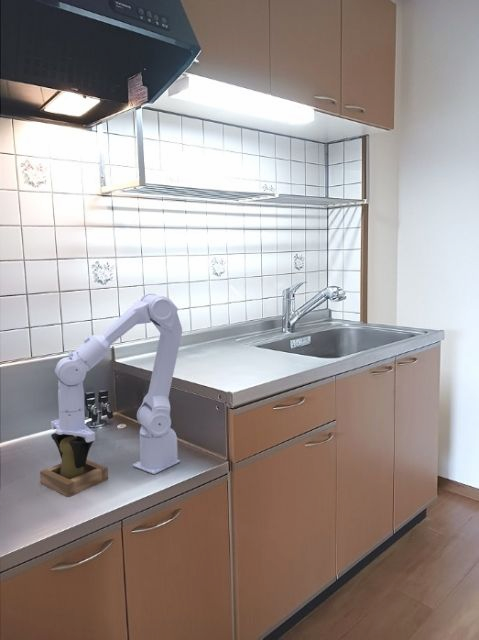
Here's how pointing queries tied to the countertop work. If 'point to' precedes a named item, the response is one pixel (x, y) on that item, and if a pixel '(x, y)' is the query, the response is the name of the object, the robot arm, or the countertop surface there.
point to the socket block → (77, 484)
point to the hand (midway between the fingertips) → (73, 463)
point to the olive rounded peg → (69, 460)
